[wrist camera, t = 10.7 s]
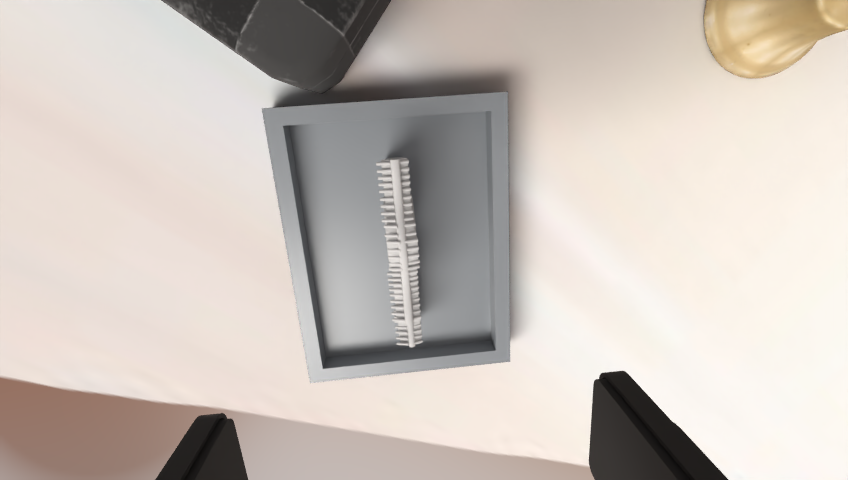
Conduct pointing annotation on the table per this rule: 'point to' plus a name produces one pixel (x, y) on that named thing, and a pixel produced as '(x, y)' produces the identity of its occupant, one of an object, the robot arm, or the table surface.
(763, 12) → the hand bell
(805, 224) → the table surface
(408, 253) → the white toothed rack
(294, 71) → the cash box
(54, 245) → the table surface
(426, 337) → the tray
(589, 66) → the table surface
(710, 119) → the table surface
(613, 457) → the robot arm
